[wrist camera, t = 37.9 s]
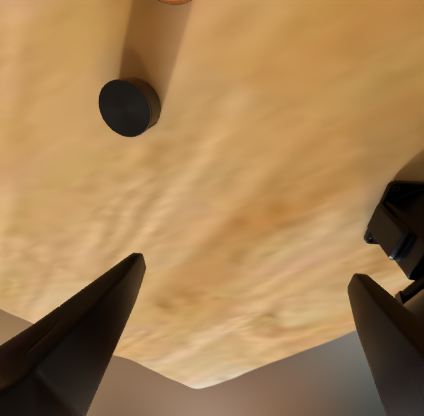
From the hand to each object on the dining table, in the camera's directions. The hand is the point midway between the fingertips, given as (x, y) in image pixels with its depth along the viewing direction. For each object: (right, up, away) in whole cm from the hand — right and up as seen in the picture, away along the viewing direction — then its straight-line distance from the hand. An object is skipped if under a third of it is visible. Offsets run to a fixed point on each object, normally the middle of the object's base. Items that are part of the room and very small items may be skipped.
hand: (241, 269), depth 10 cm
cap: (-8, +10, +7) cm, 14 cm away
